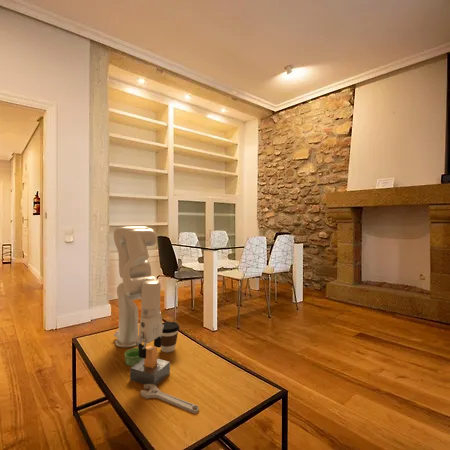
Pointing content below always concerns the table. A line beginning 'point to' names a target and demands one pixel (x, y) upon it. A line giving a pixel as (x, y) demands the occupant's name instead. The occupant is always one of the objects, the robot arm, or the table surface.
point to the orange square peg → (150, 357)
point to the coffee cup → (169, 336)
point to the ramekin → (132, 356)
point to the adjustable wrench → (167, 398)
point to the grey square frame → (150, 372)
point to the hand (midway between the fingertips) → (150, 351)
